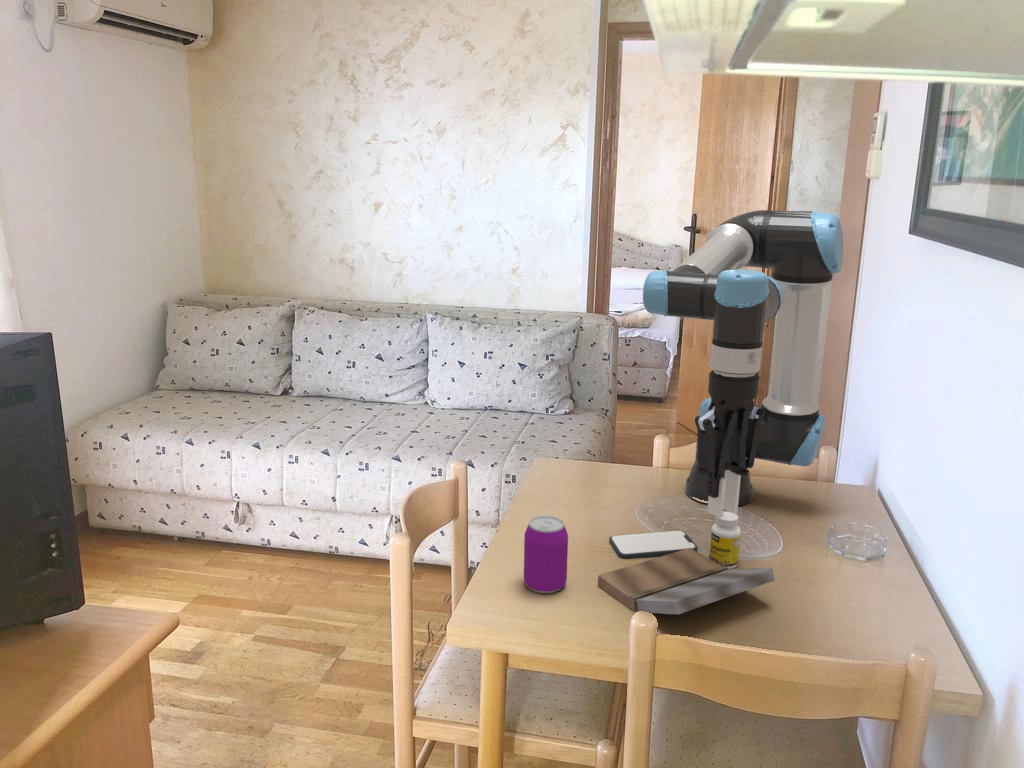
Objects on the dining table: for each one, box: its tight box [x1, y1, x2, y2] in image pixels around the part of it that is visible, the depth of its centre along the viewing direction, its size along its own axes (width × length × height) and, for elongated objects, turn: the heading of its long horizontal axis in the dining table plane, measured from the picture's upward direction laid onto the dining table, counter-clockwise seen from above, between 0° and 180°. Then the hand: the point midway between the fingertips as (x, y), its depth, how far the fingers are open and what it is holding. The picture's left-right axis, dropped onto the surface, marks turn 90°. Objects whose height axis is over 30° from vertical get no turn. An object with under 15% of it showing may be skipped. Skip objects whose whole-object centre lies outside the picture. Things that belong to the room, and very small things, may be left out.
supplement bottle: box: [708, 511, 742, 570], centre depth 151 cm, size 5×5×10 cm
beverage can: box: [523, 515, 569, 594], centre depth 142 cm, size 8×8×12 cm
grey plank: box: [636, 567, 776, 615], centre depth 135 cm, size 22×10×2 cm, turn 121°
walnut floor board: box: [597, 548, 729, 612], centre depth 144 cm, size 22×10×2 cm, turn 121°
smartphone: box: [608, 529, 698, 560], centre depth 158 cm, size 9×2×16 cm
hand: (722, 512), depth 129 cm, fingers open, 3 cm apart
